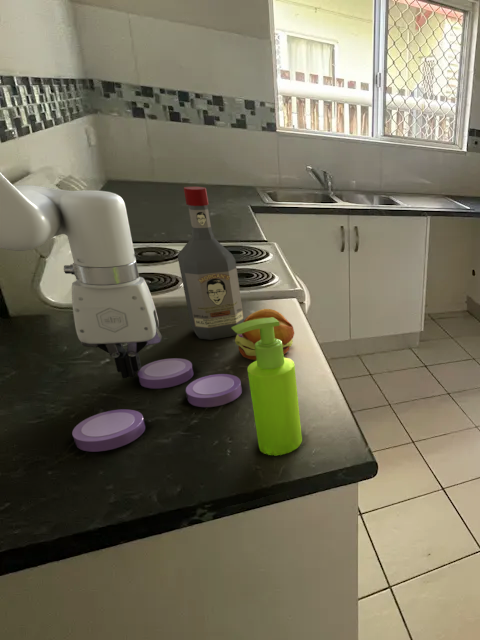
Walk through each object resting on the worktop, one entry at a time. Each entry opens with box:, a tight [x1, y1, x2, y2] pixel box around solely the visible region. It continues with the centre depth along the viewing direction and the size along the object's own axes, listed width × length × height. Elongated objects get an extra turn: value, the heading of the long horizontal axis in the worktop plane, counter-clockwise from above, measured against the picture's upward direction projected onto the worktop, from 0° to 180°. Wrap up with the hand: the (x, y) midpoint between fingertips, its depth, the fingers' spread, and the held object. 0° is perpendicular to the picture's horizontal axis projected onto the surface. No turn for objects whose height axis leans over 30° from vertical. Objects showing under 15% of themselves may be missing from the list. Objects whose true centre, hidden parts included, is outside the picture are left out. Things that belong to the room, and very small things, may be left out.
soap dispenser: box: [231, 317, 303, 456], centre depth 66 cm, size 6×7×20 cm
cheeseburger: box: [234, 308, 295, 361], centre depth 94 cm, size 10×11×10 cm
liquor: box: [177, 186, 245, 341], centre depth 97 cm, size 9×9×30 cm
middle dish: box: [185, 373, 243, 408], centre depth 80 cm, size 8×8×2 cm
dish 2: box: [136, 357, 195, 390], centre depth 84 cm, size 8×8×2 cm
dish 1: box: [71, 408, 146, 453], centre depth 69 cm, size 8×8×2 cm
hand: (130, 374), depth 82 cm, fingers closed
